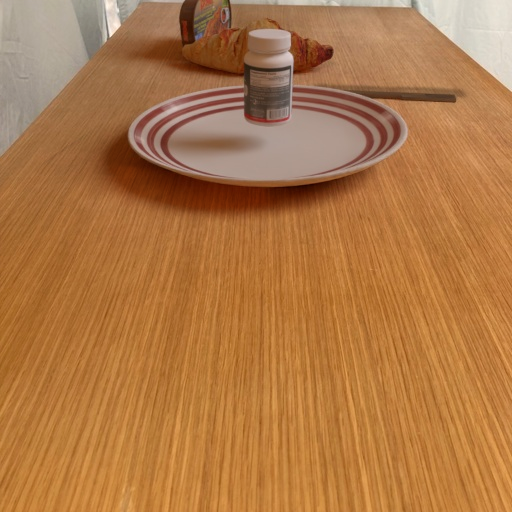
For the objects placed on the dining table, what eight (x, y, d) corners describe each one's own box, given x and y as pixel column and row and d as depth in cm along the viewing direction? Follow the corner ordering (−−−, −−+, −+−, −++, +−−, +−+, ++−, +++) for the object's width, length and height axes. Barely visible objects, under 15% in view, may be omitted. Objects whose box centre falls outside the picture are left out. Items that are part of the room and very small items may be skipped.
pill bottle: (252, 109, 71) (252, 25, 67) (296, 114, 70) (299, 29, 66) (237, 124, 67) (237, 36, 63) (284, 129, 66) (287, 40, 62)
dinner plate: (92, 202, 60) (87, 167, 58) (165, 103, 83) (163, 75, 82) (414, 222, 57) (419, 185, 56) (396, 113, 81) (399, 85, 79)
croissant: (180, 94, 97) (171, 50, 91) (189, 44, 103) (181, -1, 96) (332, 96, 96) (334, 51, 89) (333, 45, 101) (335, -1, 94)
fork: (319, 96, 86) (320, 92, 86) (320, 92, 88) (320, 88, 87) (456, 102, 85) (456, 98, 84) (454, 97, 86) (454, 93, 86)
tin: (197, 63, 99) (195, 1, 95) (177, 61, 100) (174, -1, 96) (234, 39, 111) (233, -16, 107) (215, 38, 112) (214, -18, 108)
